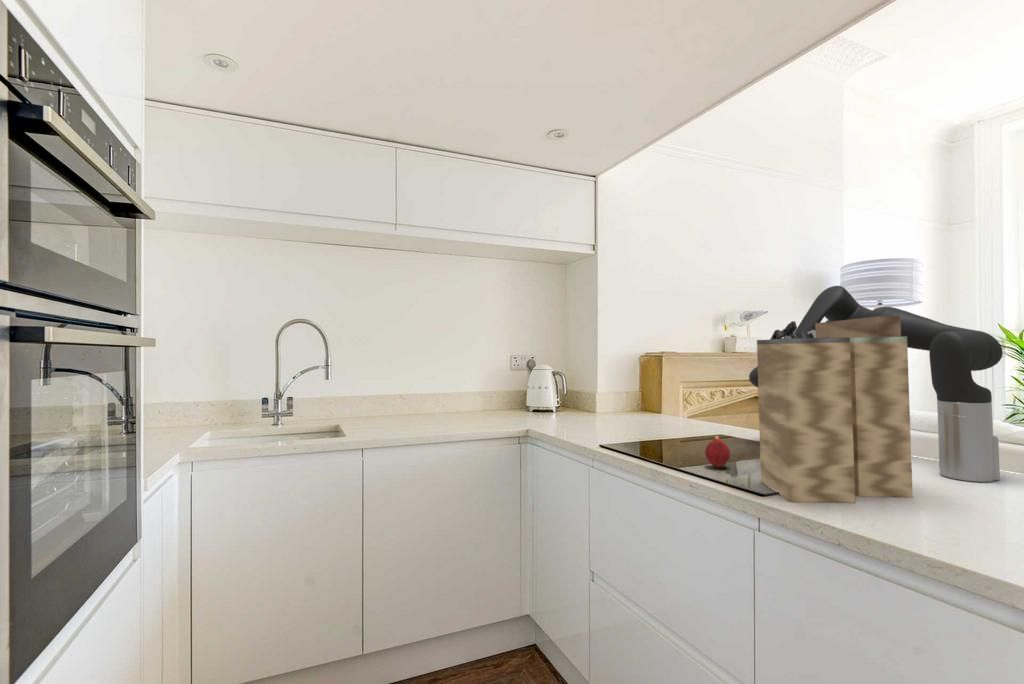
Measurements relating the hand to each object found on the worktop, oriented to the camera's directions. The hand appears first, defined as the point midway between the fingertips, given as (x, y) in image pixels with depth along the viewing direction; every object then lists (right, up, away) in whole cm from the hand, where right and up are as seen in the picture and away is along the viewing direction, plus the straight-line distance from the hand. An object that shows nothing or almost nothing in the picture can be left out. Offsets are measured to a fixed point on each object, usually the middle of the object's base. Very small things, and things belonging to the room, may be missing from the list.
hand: (812, 323), depth 125 cm
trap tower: (-16, -36, -23) cm, 45 cm away
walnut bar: (-2, -4, -17) cm, 18 cm away
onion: (-24, -37, -1) cm, 44 cm away
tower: (-1, -36, -20) cm, 41 cm away
